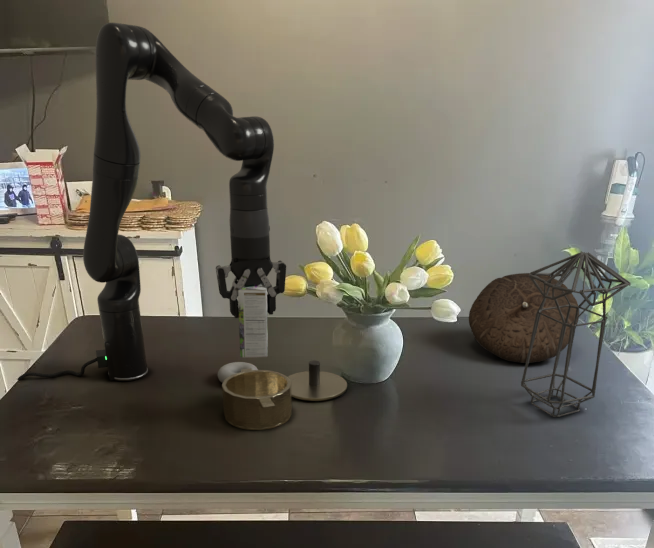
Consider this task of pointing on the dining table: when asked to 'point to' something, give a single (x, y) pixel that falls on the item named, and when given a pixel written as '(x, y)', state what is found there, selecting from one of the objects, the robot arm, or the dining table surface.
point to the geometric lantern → (569, 267)
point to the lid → (316, 384)
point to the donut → (233, 369)
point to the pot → (257, 399)
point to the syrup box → (253, 321)
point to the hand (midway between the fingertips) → (253, 315)
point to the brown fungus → (519, 318)
